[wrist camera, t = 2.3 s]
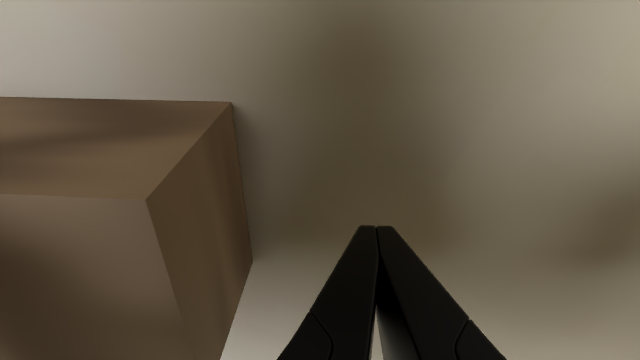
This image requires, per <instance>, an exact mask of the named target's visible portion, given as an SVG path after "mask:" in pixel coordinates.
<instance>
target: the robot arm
mask: <svg viewBox="0 0 640 360" xmlns="http://www.w3.org/2000/svg"><path fill="white" fill-rule="evenodd" d="M375 311H376V314H377V322H378V328H379V334H380V340H381V346H382V353H383V359H384V360H507V359H506V358H505V357H504V356H503V355H502V354H501V353H500V352H499V351H498V350H497V349H496V348H495V346H494V345H493V344H492V343H491V342H490V341H489V340H488V339H487V337H486V336H485V335H484V334H483V333H482V332H481V331H480V329H479V328H478V327H477V326H476V325H475V324H474V322H473V321H472V320H469V317H468V315H467V314H466V313H465V312H464V311H463V309H462V308H461V307H460V306H459V305H458V304H457V302H456V301H455V300H454V299H453V298H452V296H451V295H450V294H449V293H448V292H447V291H446V289H445V288H444V287H443V286H442V285H441V283H440V282H439V281H438V280H437V279H436V277H435V276H434V275H433V274H432V273H431V272H430V270H429V269H428V268H427V267H426V266H425V264H424V263H423V262H422V261H421V260H420V259H419V257H418V256H417V255H416V254H415V253H414V251H413V250H412V249H411V248H410V247H409V246H408V244H407V243H406V242H405V241H404V240H403V238H402V237H401V236H400V235H399V234H398V232H397V231H396V230H395V229H394V228H393V227H392V226H377V227H375V226H371V225H361V226H359V227H358V229H357V231H356V232H355V234H354V236H353V237H352V239H351V241H350V243H349V244H348V246H347V248H346V249H345V251H344V253H343V254H342V256H341V258H340V259H339V261H338V263H337V265H336V266H335V268H334V270H333V271H332V273H331V275H330V276H329V278H328V280H327V281H326V283H325V285H324V287H323V288H322V290H321V292H320V293H319V295H318V297H317V298H316V300H315V302H314V303H313V305H312V307H311V309H310V311H309V312H308V313H307V315H306V317H305V318H304V320H303V322H302V323H301V325H300V327H299V328H298V330H297V331H296V333H295V334H294V336H293V338H292V339H291V341H290V342H289V344H288V345H287V346H286V348H285V349H284V350H283V352H282V353H281V354H280V356H279V357H278V358H277V360H371V354H372V344H373V333H374V323H375Z"/></svg>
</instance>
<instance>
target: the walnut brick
mask: <svg viewBox="0 0 640 360" xmlns="http://www.w3.org/2000/svg"><path fill="white" fill-rule="evenodd" d="M252 262H253V261H252V254H251V246H250V239H249V231H248V224H247V217H246V209H245V202H244V194H243V187H242V180H241V172H240V165H239V158H238V150H237V143H236V135H235V128H234V121H233V113H232V106H231V102H209V101H164V100H118V99H72V98H27V97H0V360H220V358H221V355H222V352H223V349H224V346H225V343H226V340H227V337H228V334H229V331H230V328H231V325H232V322H233V319H234V316H235V313H236V310H237V307H238V304H239V301H240V298H241V295H242V292H243V289H244V286H245V283H246V280H247V277H248V274H249V271H250V268H251V265H252Z"/></svg>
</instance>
